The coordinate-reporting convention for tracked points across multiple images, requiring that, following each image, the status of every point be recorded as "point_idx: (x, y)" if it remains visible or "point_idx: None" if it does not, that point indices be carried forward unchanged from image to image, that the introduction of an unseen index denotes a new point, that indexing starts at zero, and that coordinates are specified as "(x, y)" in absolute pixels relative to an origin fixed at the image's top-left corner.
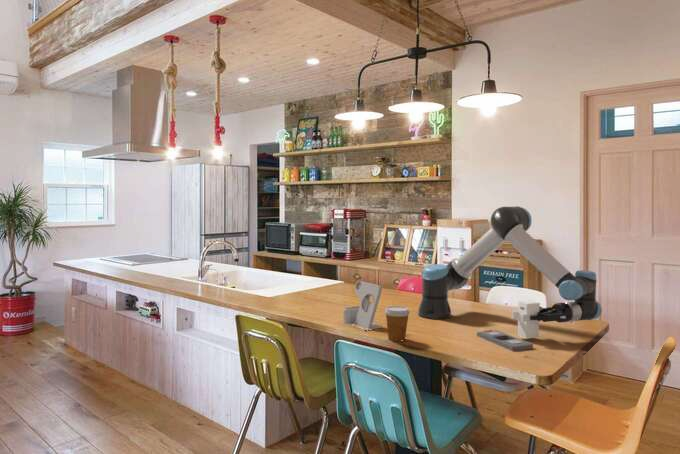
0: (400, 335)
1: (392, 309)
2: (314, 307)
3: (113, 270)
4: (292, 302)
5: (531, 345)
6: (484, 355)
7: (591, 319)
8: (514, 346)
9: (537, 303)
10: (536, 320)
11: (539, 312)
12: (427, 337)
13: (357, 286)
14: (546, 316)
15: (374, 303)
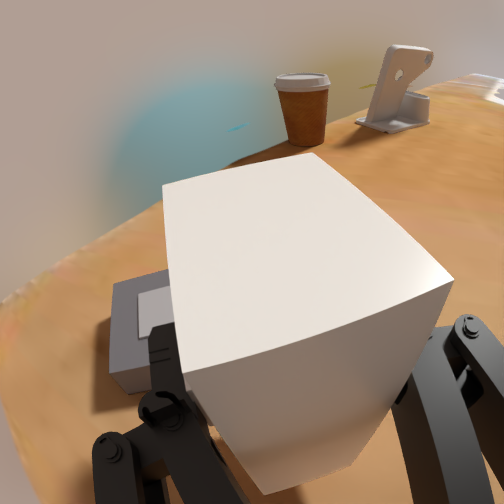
0: (287, 130)
1: (299, 76)
2: (469, 109)
3: (487, 76)
4: (477, 104)
5: (111, 368)
6: (152, 242)
7: None
8: (113, 291)
9: (177, 323)
10: (209, 424)
11: (143, 398)
12: (334, 168)
13: (429, 60)
14: (99, 470)
15: (379, 78)
